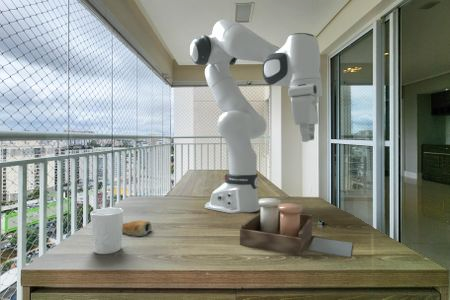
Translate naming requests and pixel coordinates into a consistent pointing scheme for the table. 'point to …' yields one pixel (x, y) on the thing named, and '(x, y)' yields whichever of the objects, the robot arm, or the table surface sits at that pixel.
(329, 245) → the slate tile
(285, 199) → the table surface
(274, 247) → the wooden tray
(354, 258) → the table surface
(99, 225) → the white cup
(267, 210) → the white glossy domed part
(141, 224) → the pastry
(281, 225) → the peach mushroom knob
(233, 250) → the table surface
